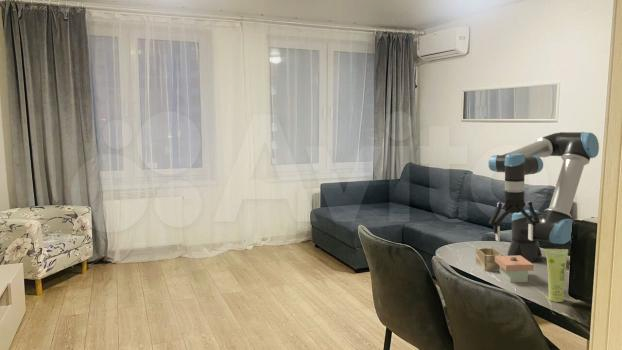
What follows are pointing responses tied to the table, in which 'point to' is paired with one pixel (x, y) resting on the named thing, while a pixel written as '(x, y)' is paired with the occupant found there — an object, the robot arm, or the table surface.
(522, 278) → the pale green rectangular block
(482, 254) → the box
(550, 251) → the tube
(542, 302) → the table surface
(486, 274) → the table surface
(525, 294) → the table surface
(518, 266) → the lid
